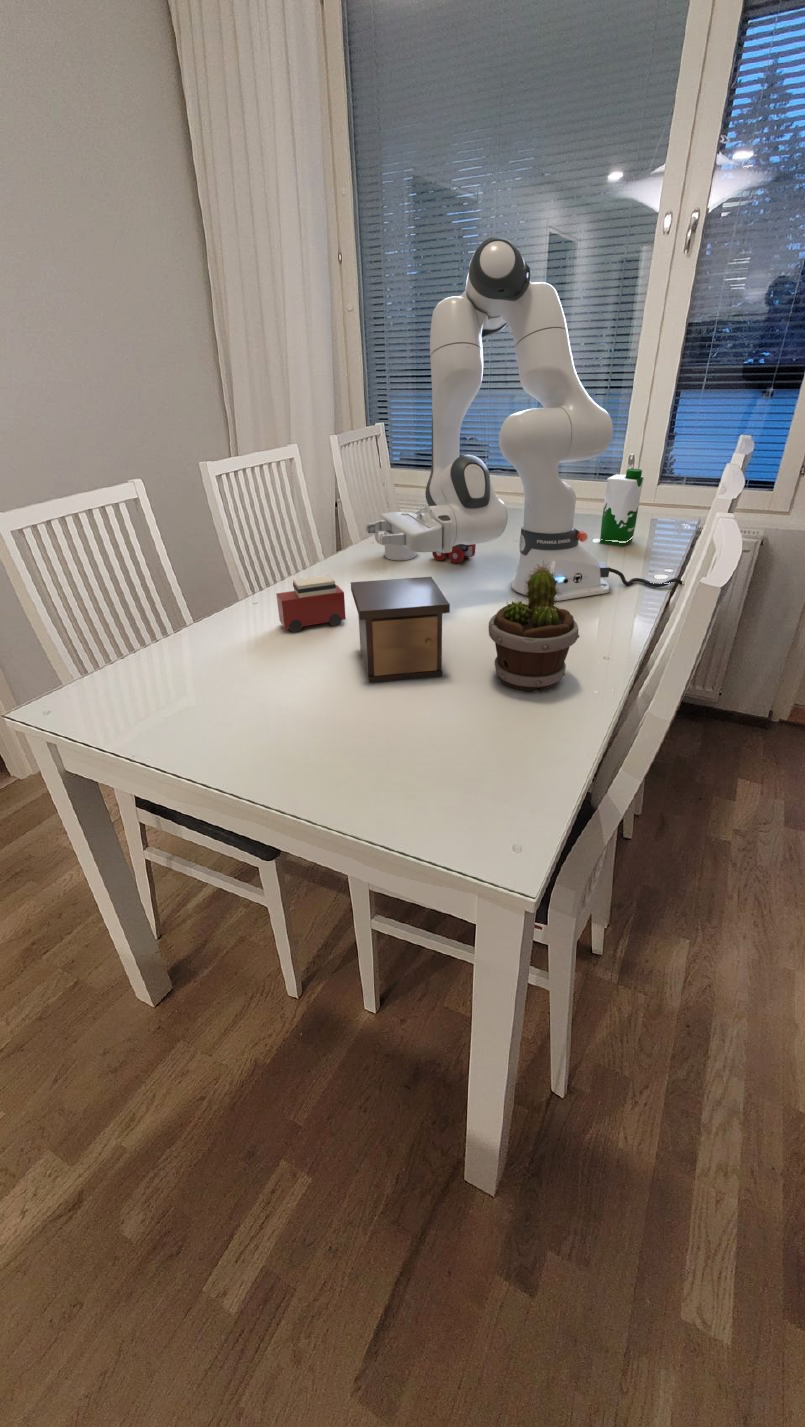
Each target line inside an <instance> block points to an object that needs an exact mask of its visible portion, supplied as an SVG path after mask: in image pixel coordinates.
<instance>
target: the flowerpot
mask: <svg viewBox="0 0 805 1427" xmlns="http://www.w3.org/2000/svg"><path fill="white" fill-rule="evenodd" d="M543 563H544V561H543ZM549 564H550V563H549ZM544 565H545V564H544ZM547 565H548V564H547ZM547 565H545V567H544V566H542V568H541V569H540V570H539V569H536V568H535V567H534V570H535V569H536V571H535V573H534V574H533V573H532V575H531V573H530V576H528V577H531V578H529V580H527V581H526V582H527V583H526V584H528V586H526V584H525V586H526V587H527V588H526V587H525V588H526V589H528V592H527V593H526V594H527V595H526V594H525V595H524V594H523V597H525V603H522V600H523V599H521V600H520V601H518V597H516V598H515V600H514V601H513V600H511V603H509V602H508V601H506V605H505V606H503V607H501V608H500V609H499V610H498V611H497V612H496V614H494V615H493V616H492V617H491V618H490V619H489V621H488V636H489V638H490V639H491V640H492V642H494V646H495V651H496V657H495V659H494V669H495V672H496V675H497V676H498V678H500V679H501V680H500V681H501V682H502V683H503V684H504V685H505V686H507V687H510V688H512V689H514V690H520V689H521V690H522V691H524V692H525V691H526V692H530V691H533V690H535V689H538V690H540V691H545V690H547V689H549V688H553V687H554V686H556V684H557V683H558V682H559V681H561V679H562V678H563V677H564V676H565V675H566V669H567V665H566V662H565V661H566V659H567V656H568V654H569V650H570V647H571V646H573V645H574V644H575V643H576V642H577V641H578V639H579V638H580V634H579V625H578V623H577V621H575V618H574V616H573V614H571V612H570V611H569V610H567V609H564V608H560V607H558V606H559V604H558V601H557V600H555V599H557V598H554V597H555V595H556V596H557V593H560V592H558V591H556V587H557V586H556V583H558V582H561V581H558V580H559V577H558V580H557V579H556V578H555V577H556V576H557V575H554V574H553V571H552V574H551V573H550V571H551V570H550V569H551V567H550V569H549V570H550V571H548V570H546V569H547V567H546V566H547ZM537 567H538V564H537ZM540 567H541V566H540ZM540 567H538V568H540ZM537 570H538V571H537ZM552 570H554V569H552ZM530 572H531V571H530ZM533 572H534V571H533ZM555 574H556V573H555ZM528 575H529V574H528ZM554 576H555V577H554ZM555 579H556V580H555ZM525 580H526V579H525ZM524 583H525V582H524ZM555 586H556V587H555ZM557 589H558V588H557ZM558 590H559V589H558ZM524 591H527V590H525V589H524ZM561 594H562V593H561ZM526 596H527V597H526ZM558 596H559V595H558ZM554 600H555V601H554ZM559 600H560V599H559ZM560 601H561V600H560Z"/></svg>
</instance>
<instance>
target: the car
mask: <svg viewBox="0 0 805 1427" xmlns="http://www.w3.org/2000/svg"><path fill="white" fill-rule="evenodd" d="M292 587H293V590H292V591H285V592H283V591H282V592H278V593H277V592H276V593H275V595H276V602H277V603H276V604H277V611H278V619H279V620H278V621H279V622H280V624H281V625H282V627H283V629H285V630H287V629H289V630H290V631H291V632H292V633H298V632H301V630H302V628H303V627H306V626H312V625H320V624H325V623H329V624H330V625H331V626H334V627H336V626H339V625H340V624H341V622H342V621H343V620H346V603H345V601H346V600H345V591H344V590H343V589H341V587H340V586H339V585H338V584H336V581H335V580H334V578H333V577H332V576H330V574H323V575H317V576H309V577H301V578H295V579H292Z"/></svg>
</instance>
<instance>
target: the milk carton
mask: <svg viewBox="0 0 805 1427" xmlns="http://www.w3.org/2000/svg"><path fill="white" fill-rule="evenodd" d="M642 473H643V470H642V469H640V468H627V469H626V472H625V474H618V473H616V474H614V475H611V476H610V477H607V478H606V488H605V495H604V503H603V510H602V518H601V526H600V538H599V544H605V545H611V546H618V547H625V546H627V545H629V544H630V543H631V542H632V541H633V539H634V535H635V530H636V525H637V518H638V512H639V507H640V501H641V493H642V490H643V484H644V479H645V476H643V475H642ZM632 536H633V538H632V539H631V540H629V539H630V538H631V537H632ZM601 539H603V540H601ZM605 540H618V541H627V540H629V541H628V542H626V543H619V542H612V541H605Z"/></svg>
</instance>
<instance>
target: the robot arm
mask: <svg viewBox="0 0 805 1427" xmlns="http://www.w3.org/2000/svg"><path fill="white" fill-rule="evenodd" d="M531 281H532V270H531V268H530V266H529V264H527V262H526V261H525V260H524V257H523V256H522V254H521V252H520V249H519V248H518V247H517V246H516V245H515V243H514V242H513V241H512V240H510V239H508V238H506V237H504V236H492V237H488V238H487V239H485V240H483V241H482V242H481V243H480V244H479V245H478V247H477V248H476V249H475V251H474V253H473V254H472V257H471V259H470V262H469V265H468V273H467V277H466V282H465V283H466V284H465V290H464V291H463V292H462V294H460V295H458V296H457V295H455V296H449V297H446V298H444V299H442V300H441V301H439V302H438V303H437V304H436V306H435V307H434V308H433V311H432V315H431V322H430V333H429V356H430V357H429V358H430V374H431V393H432V395H431V408H432V409H431V410H432V411H431V470H430V474H429V478H428V479H427V480H428V481H427V483H426V487H425V501H426V503H427V505H428V506H427V505H426V506H425V507H424V508H423V510H422V511H421V513H415V512H413V511H389V512H383V513H381V514H380V516H379V518H380V519H379V521H378V520H376V521H374V522H368V523H366V524H365V526H364V528H365V532H366V533H367V534H374V533H376V532H378V533H379V532H386V533H387V534H384V533H381V534H380V535H379V537H380V543H382V544H383V545H382V546H385V545H388V544H392V545H403V546H405V547H406V548H407V549H409V550H410V551H412V552H416V553H432V552H437V551H441V552H442V553H449V552H452V547H453V546H455V545H458V544H464V545H473V544H476V545H478V544H485V543H488V542H492V541H495V540H497V539H499V538H500V537H501V536H502V534H504V533H505V531H506V530H505V529H506V527H507V524H508V517H509V516H508V508H507V506H506V504H505V503H504V501H503V500H501V499H500V497H498V495H497V493H496V491H495V489H494V487H493V484H492V482H491V476H490V471H489V468H488V467H487V465H486V464H485V462H484V460H482V459H481V458H479V457H478V456H475V455H472V454H463V455H460V451H461V450H460V444H461V443H460V441H461V439H460V438H461V437H460V435H461V428H462V424H463V421H464V418H465V417H466V414H467V412H468V410H469V408H470V406H471V404H472V403H473V401H474V400H475V398H476V396H477V395H478V393H479V391H480V389H481V387H482V381H483V374H484V352H483V340H482V339H483V338H485V337H491V336H493V335H496V334H498V333H499V332H501V331H502V330H504V329H505V327H507V326H508V327H509V329H510V331H511V334H512V337H513V344H514V352H515V359H516V366H517V370H518V376H519V382H520V385H521V388H522V389H523V391H524V392H525V393H526V394H527V395H528V396H530V397H532V398H534V399H535V400H536V401H538V402H539V403H540V404H541V406H542V407H538V408H535V407H534V408H528V409H524V410H521V411H518V412H515V413H512V414H510V415H508V416H506V418H505V419H504V421H503V423H502V425H501V426H500V430H499V435H498V445H499V446H498V447H499V450H500V452H501V454H502V457H503V458H504V459H505V460H506V462H508V463H509V464H510V465H511V466H512V467H513V468H514V469H515V470H516V472H517V474H518V476H519V479H520V481H521V484H522V488H523V497H524V499H523V524H522V526H521V527H520V535H519V544H518V545H519V546H518V548H519V558H518V564H517V566H516V567H517V568H516V572H515V575H514V578H513V581H512V584H511V588H512V590H513V591H515V592H516V593H519V594H522V595H523V596H524V595H525V594H526V593H527V592H528V589H526V588H527V587H526V586H528V584H526V583H527V582H526V581H527V580H529V578H531V577H528V576H530V573H531V575H532V573H533V574H534V573H535V571H536V569H539V570H540V569H541V568H542V566H544V567H545V565H547V564H548V565H547V566H546V567H547V569H546V570H548V571H550V570H551V571H550V573H551V574H552V571H553V574H554V575H557V576H556V577H555V576H554V577H555V578H556V579H557V580H558V577H559V580H558V581H561V582H558V583H556V586H557V587H556V586H555V587H556V591H558V592H560V593H557V596H556V595H555V597H554V598H557V599H555V600H557V601H555V600H554V601H555V602H560V601H565V600H571V599H578V598H585V597H590V596H597V595H603V594H608V593H609V592H610V585H609V583H608V582H607V581H606V580H605V579H603V578H609V575H610V573H613V574H615V575H617V576H618V577H619V579H620V580H621V583H622V584H623V585H625V586H630V585H632V584H633V583H641V584H645V585H646V586H650V587H653V588H662V587H666V586H669V585H671V584H672V583H671V582H673V583H678V585H682V582H683V580H681V578H678V577H674V578H671V579H668V580H667V581H664V582H652V583H650V582H651V581H649V580H647V579H645V578H641V577H634V578H631V579H630V580H626V577H625V575H624V573H622V572H621V571H620V570H618V569H615V568H612V567H610V566H608V564H607V563H606V562H605V561H598V560H597V559H596V558H595V557H594V556H593V555H592V554H590V552H588V551H587V550H586V549H585V548H584V547H582V546H581V545H580V544H579V542H582V543H584V542H587V540H588V538H589V536H588V534H587V532H584V530H583V531H582V530H581V531H580V530H579V529H577V528H575V527H574V521H575V520H574V519H575V511H576V503H577V495H576V491H575V490H574V489H573V487H572V486H571V485H570V484H568V483H567V482H566V481H564V480H562V479H561V477H560V471H559V465H560V464H563V463H573V462H582V461H583V462H584V461H586V460H589V459H592V458H595V457H598V456H600V455H602V454H604V453H605V452H606V451H607V450H608V448H609V446H610V444H611V442H612V439H613V435H614V424H613V420H612V417H611V415H610V414H609V412H608V411H607V410H606V409H605V408H602V407H601V406H599V405H598V404H597V403H596V402H595V401H594V400H593V399H592V398H591V397H590V395H589V393H588V392H587V390H586V389H585V387H584V386H583V384H582V382H581V380H580V378H579V376H578V374H577V371H576V368H575V364H574V358H573V354H572V349H571V343H570V338H569V332H568V326H567V325H568V324H567V321H566V320H567V319H566V316H565V313H564V309H563V306H562V302H561V300H560V297H559V294H558V292H557V290H556V288H555V287H554V286H553V285H552V284H550V283H548V282H544V281H540V282H539V281H537V282H531ZM543 561H544V563H543ZM549 563H550V564H549ZM537 564H538V567H540V566H541V567H540V568H538V567H537ZM544 564H545V565H544ZM534 567H535V568H536V569H535V570H534ZM550 567H551V569H550ZM549 569H550V570H549ZM552 569H554V570H552ZM530 571H531V572H530ZM533 571H534V572H533ZM537 571H538V570H537ZM555 573H556V574H555ZM528 574H529V575H528ZM525 579H526V580H525ZM556 579H555V580H556ZM524 582H525V583H524ZM669 582H670V584H664V583H669ZM653 583H654V584H653ZM659 583H660V584H659ZM661 583H662V584H661ZM525 584H526V586H525ZM525 587H526V588H525ZM557 588H558V589H559V590H558V589H557ZM524 589H525V590H527V591H524ZM561 593H562V594H561ZM558 595H559V596H558ZM525 596H528V595H527V594H526V595H525ZM559 599H560V600H559Z"/></svg>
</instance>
